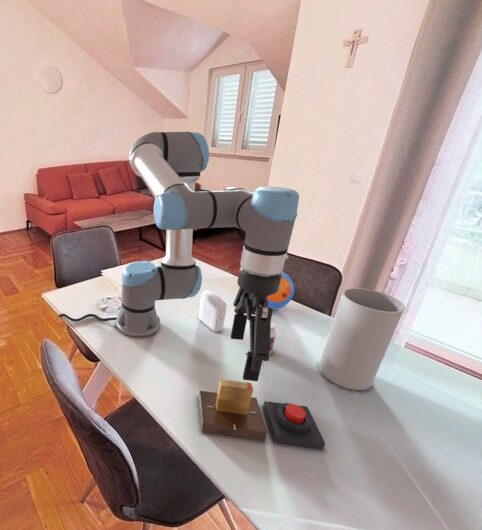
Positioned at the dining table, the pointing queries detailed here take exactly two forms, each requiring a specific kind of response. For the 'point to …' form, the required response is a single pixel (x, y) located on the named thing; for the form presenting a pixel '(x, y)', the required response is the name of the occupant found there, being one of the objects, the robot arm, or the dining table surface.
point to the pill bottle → (272, 336)
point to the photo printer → (212, 310)
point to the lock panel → (231, 419)
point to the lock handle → (234, 397)
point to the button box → (292, 427)
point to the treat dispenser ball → (282, 293)
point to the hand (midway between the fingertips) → (242, 357)
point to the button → (295, 413)
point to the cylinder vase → (359, 337)
